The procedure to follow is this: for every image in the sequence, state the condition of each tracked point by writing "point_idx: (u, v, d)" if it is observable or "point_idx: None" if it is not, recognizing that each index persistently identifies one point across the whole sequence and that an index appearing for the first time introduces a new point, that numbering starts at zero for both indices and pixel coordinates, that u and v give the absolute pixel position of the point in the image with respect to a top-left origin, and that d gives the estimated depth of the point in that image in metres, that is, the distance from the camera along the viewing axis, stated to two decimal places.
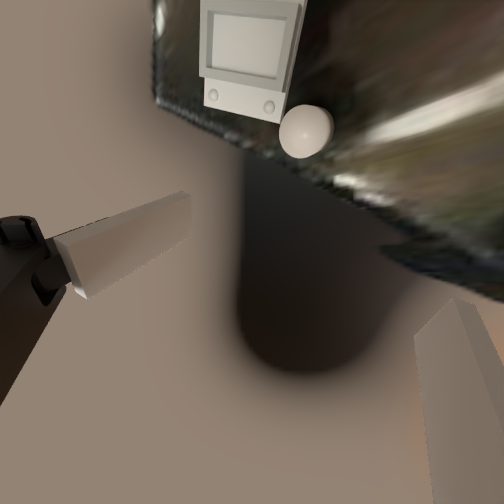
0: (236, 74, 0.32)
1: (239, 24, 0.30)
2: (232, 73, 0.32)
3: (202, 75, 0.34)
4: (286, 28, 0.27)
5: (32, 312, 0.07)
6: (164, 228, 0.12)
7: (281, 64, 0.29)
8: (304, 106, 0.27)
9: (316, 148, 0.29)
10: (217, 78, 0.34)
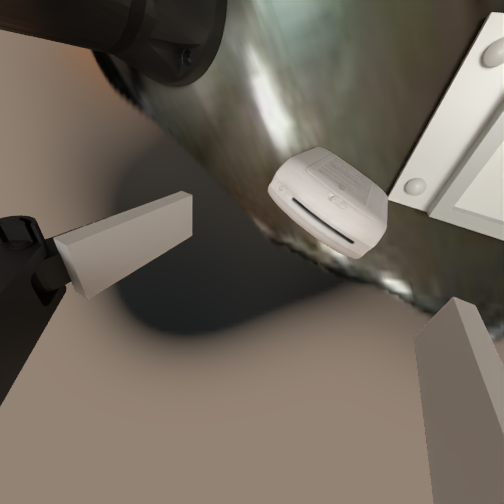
0: None
1: (491, 161, 0.19)
2: None
3: None
4: None
5: (32, 312, 0.07)
6: (164, 228, 0.12)
7: None
8: None
9: None
10: None
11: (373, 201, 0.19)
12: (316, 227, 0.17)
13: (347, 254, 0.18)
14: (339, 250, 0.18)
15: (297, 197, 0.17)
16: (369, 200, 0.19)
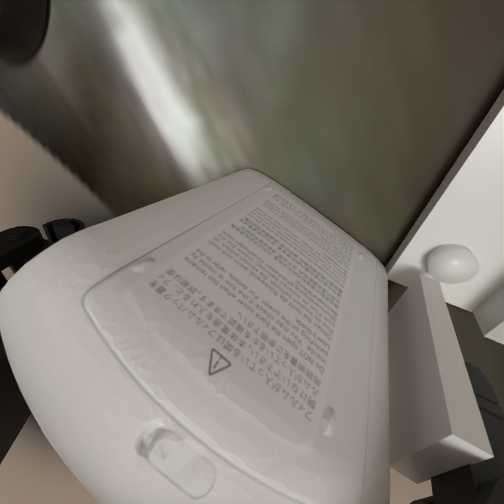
0: None
1: None
2: None
3: None
4: None
5: None
6: None
7: None
8: None
9: None
10: None
11: (348, 345, 0.07)
12: None
13: None
14: None
15: (37, 416, 0.04)
16: (335, 352, 0.06)
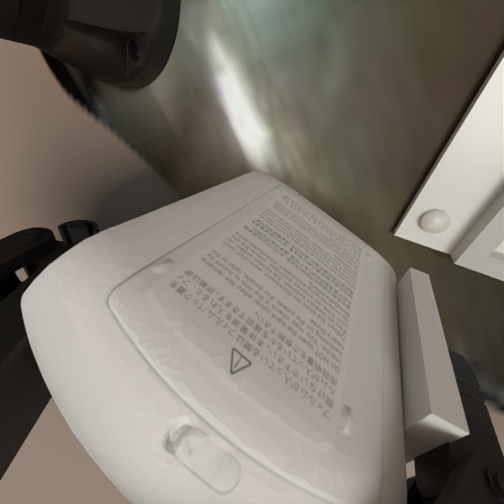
0: None
1: None
2: None
3: None
4: None
5: None
6: None
7: None
8: None
9: None
10: None
11: (361, 345, 0.07)
12: None
13: None
14: None
15: (63, 413, 0.04)
16: (349, 352, 0.06)
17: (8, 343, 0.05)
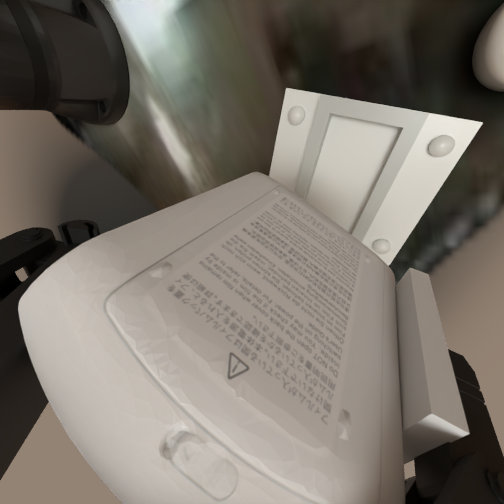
0: (370, 200, 0.21)
1: (315, 191, 0.25)
2: (367, 206, 0.22)
3: None
4: (341, 112, 0.19)
5: None
6: None
7: (384, 117, 0.18)
8: None
9: None
10: (365, 232, 0.23)
11: (360, 349, 0.07)
12: None
13: None
14: None
15: (60, 418, 0.04)
16: (347, 356, 0.06)
17: (8, 343, 0.05)
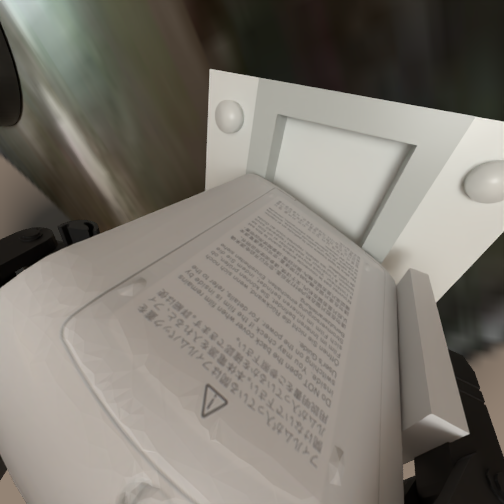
0: None
1: None
2: None
3: None
4: (298, 112, 0.10)
5: None
6: None
7: (379, 123, 0.09)
8: None
9: None
10: None
11: (357, 371, 0.06)
12: None
13: None
14: None
15: (9, 463, 0.04)
16: (342, 380, 0.06)
17: None
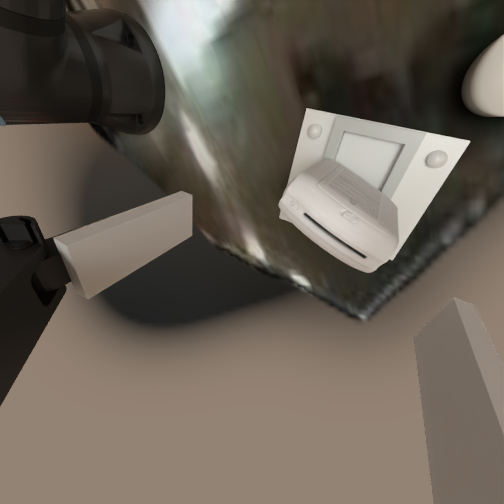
0: None
1: None
2: None
3: None
4: (354, 130, 0.23)
5: (32, 312, 0.07)
6: (164, 228, 0.12)
7: (389, 135, 0.22)
8: (489, 63, 0.15)
9: None
10: None
11: (384, 214, 0.19)
12: (328, 242, 0.17)
13: (359, 268, 0.18)
14: (351, 264, 0.18)
15: (308, 213, 0.17)
16: (380, 213, 0.19)
17: None
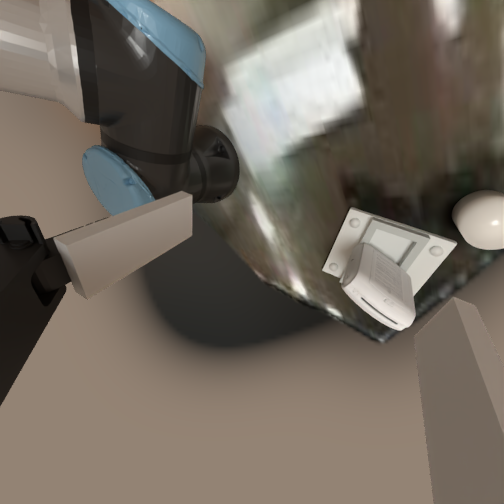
0: None
1: None
2: None
3: None
4: (383, 229, 0.36)
5: (32, 312, 0.07)
6: (164, 228, 0.12)
7: (407, 236, 0.35)
8: (466, 222, 0.28)
9: None
10: None
11: (405, 293, 0.32)
12: (375, 314, 0.30)
13: (392, 327, 0.31)
14: (387, 325, 0.31)
15: (364, 298, 0.30)
16: (403, 293, 0.32)
17: None
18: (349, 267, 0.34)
